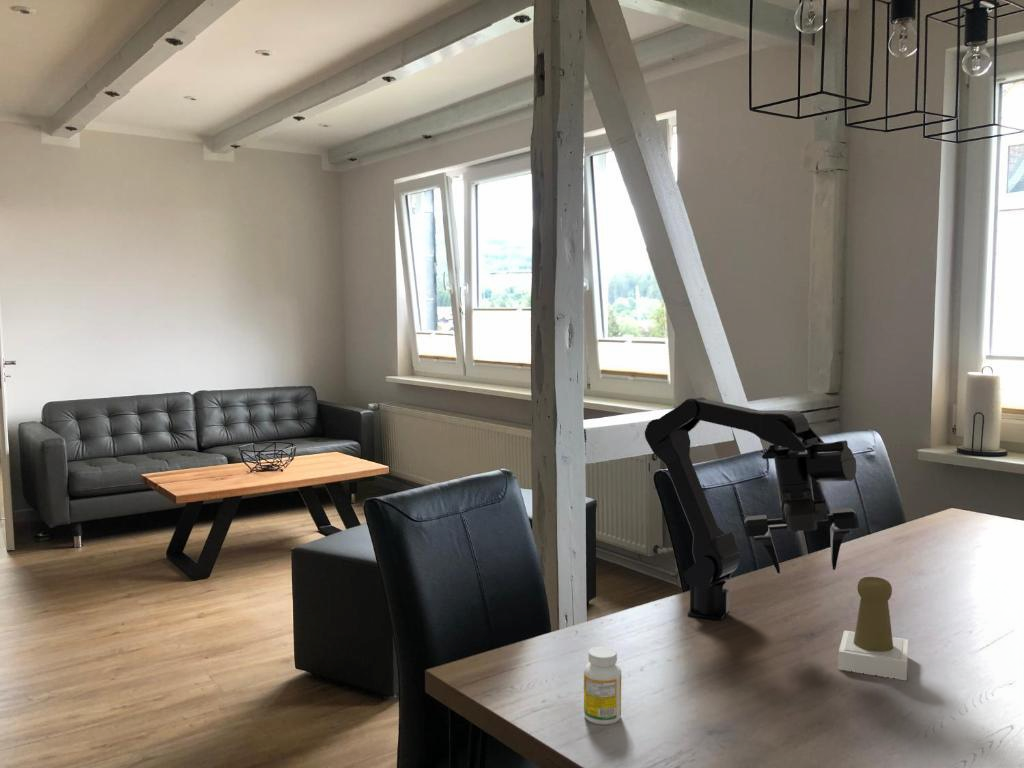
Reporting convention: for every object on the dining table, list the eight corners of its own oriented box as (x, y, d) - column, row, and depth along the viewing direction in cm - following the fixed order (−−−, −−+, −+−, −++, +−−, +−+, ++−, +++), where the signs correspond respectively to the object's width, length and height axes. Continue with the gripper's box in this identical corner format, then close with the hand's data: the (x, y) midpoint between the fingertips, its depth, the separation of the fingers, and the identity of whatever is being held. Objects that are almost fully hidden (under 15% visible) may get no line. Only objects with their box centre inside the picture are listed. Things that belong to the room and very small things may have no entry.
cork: (901, 648, 137) (903, 582, 136) (872, 653, 135) (873, 586, 134) (874, 635, 143) (875, 571, 142) (845, 640, 141) (846, 575, 140)
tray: (838, 669, 137) (838, 650, 137) (843, 647, 146) (844, 629, 146) (906, 680, 133) (907, 661, 132) (907, 657, 142) (908, 638, 141)
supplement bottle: (607, 729, 118) (607, 662, 117) (576, 718, 122) (576, 653, 121) (628, 715, 122) (628, 650, 122) (597, 704, 126) (597, 641, 125)
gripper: (739, 493, 144) (751, 585, 144) (856, 483, 139) (869, 578, 139) (739, 485, 155) (751, 571, 154) (848, 475, 150) (860, 563, 149)
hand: (806, 571), depth 149 cm, fingers open, 9 cm apart
